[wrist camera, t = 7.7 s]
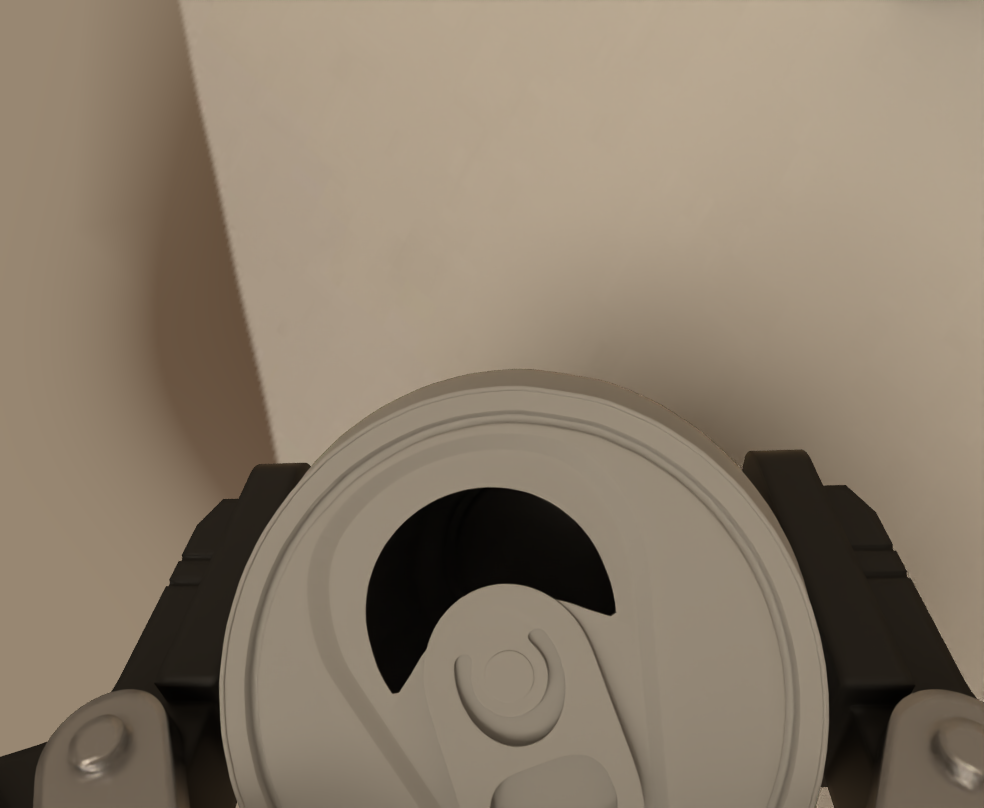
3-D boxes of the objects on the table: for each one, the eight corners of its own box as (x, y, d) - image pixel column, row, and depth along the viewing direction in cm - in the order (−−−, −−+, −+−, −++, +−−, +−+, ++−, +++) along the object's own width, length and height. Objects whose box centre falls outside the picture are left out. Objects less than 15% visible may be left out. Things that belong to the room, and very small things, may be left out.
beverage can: (608, 401, 18) (706, 243, 7) (702, 635, 18) (1013, 945, 6) (386, 484, 19) (96, 477, 7) (467, 719, 18) (293, 1184, 6)
